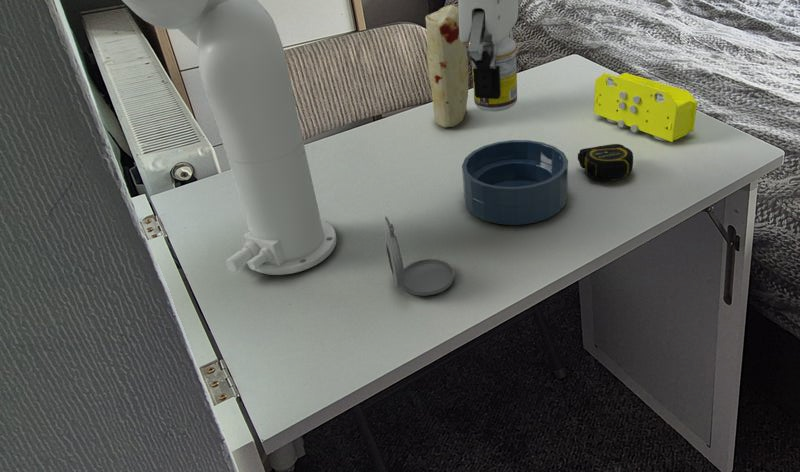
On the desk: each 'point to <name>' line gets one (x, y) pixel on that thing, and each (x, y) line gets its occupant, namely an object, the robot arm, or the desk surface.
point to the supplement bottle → (502, 77)
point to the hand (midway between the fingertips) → (495, 86)
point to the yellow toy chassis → (645, 105)
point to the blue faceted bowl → (515, 182)
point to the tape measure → (606, 161)
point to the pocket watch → (417, 270)
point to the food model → (447, 66)
